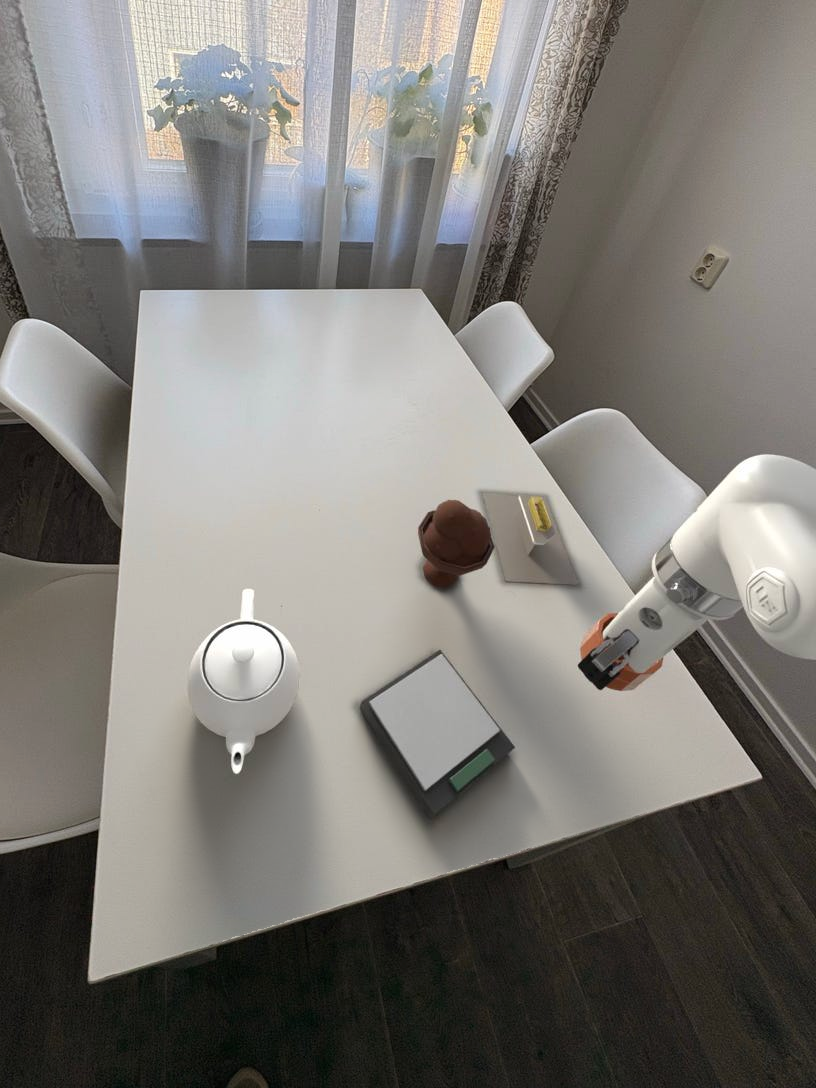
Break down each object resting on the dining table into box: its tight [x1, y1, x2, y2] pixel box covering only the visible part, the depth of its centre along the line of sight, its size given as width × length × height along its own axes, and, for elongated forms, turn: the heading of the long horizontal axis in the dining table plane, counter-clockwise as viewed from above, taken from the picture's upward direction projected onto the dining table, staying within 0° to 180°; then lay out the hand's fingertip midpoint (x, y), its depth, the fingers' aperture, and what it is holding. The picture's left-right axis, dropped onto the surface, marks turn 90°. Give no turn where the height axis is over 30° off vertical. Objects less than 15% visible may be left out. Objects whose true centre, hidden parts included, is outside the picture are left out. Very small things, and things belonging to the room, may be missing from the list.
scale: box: [359, 649, 516, 820], centre depth 65 cm, size 14×13×3 cm
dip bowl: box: [579, 612, 664, 692], centre depth 58 cm, size 7×7×5 cm
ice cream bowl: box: [417, 499, 495, 589], centre depth 78 cm, size 11×11×15 cm
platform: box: [482, 492, 579, 586], centre depth 88 cm, size 12×18×7 cm, turn 1°
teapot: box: [186, 588, 301, 775], centre depth 63 cm, size 22×14×11 cm, turn 4°
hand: (611, 659), depth 59 cm, fingers closed on dip bowl, 7 cm apart
